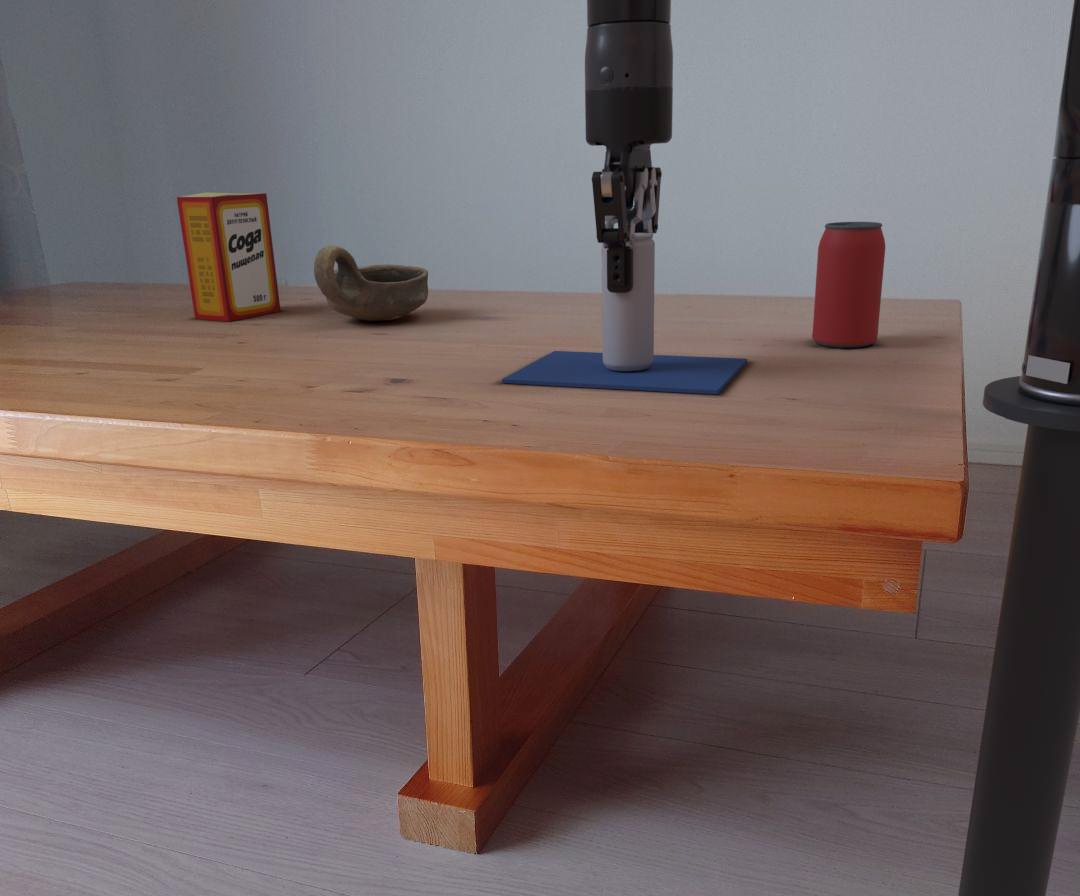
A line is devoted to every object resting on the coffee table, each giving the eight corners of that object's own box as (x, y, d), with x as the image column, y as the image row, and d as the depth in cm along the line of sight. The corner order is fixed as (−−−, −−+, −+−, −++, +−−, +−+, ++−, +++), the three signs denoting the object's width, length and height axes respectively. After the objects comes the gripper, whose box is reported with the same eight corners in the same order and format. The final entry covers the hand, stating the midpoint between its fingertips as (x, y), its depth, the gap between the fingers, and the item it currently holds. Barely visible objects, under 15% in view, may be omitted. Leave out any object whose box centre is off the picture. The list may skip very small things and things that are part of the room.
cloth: (747, 362, 98) (747, 358, 98) (718, 394, 86) (718, 390, 86) (554, 354, 105) (554, 350, 105) (502, 383, 93) (501, 379, 93)
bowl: (454, 314, 133) (449, 235, 129) (367, 336, 119) (359, 248, 115) (373, 309, 140) (367, 234, 136) (283, 329, 126) (272, 246, 122)
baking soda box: (247, 308, 144) (231, 190, 138) (280, 311, 141) (265, 190, 135) (195, 318, 137) (176, 194, 131) (228, 321, 133) (210, 193, 127)
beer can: (882, 339, 107) (893, 221, 103) (870, 350, 101) (881, 226, 97) (819, 336, 110) (827, 221, 105) (805, 347, 104) (812, 226, 100)
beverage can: (664, 366, 95) (665, 233, 91) (630, 374, 92) (630, 238, 88) (625, 359, 98) (625, 231, 94) (591, 368, 95) (590, 236, 91)
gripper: (649, 78, 79) (647, 300, 85) (690, 86, 91) (686, 279, 97) (559, 84, 81) (564, 298, 88) (611, 90, 94) (612, 278, 100)
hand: (628, 287), depth 92 cm, fingers closed on beverage can, 5 cm apart
